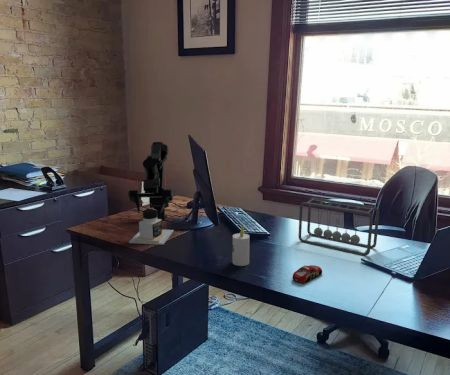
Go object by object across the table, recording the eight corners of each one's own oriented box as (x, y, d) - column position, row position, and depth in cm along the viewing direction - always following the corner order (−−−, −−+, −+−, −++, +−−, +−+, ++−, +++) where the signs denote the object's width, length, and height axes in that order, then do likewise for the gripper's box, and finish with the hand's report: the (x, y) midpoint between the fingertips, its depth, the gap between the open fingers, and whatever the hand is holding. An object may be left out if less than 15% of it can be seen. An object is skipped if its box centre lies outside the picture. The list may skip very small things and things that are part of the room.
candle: (229, 260, 153) (229, 223, 149) (245, 258, 155) (245, 221, 151) (235, 267, 147) (235, 228, 143) (251, 264, 149) (252, 226, 146)
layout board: (142, 229, 187) (142, 226, 186) (173, 231, 185) (173, 228, 184) (128, 243, 170) (128, 239, 170) (163, 244, 168) (163, 241, 168)
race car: (312, 269, 146) (312, 259, 145) (324, 274, 142) (325, 263, 141) (289, 280, 137) (289, 269, 136) (302, 286, 133) (302, 274, 132)
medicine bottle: (153, 240, 170) (152, 212, 167) (139, 237, 173) (138, 210, 170) (162, 234, 176) (161, 208, 173) (149, 232, 179) (147, 206, 176)
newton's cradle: (297, 241, 172) (299, 201, 168) (307, 234, 181) (309, 196, 177) (369, 257, 156) (373, 213, 152) (376, 248, 164) (380, 207, 160)
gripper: (127, 171, 171) (123, 203, 163) (171, 171, 172) (169, 203, 164) (132, 185, 181) (128, 216, 173) (173, 185, 182) (172, 215, 174)
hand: (149, 212), depth 171 cm, fingers open, 9 cm apart
